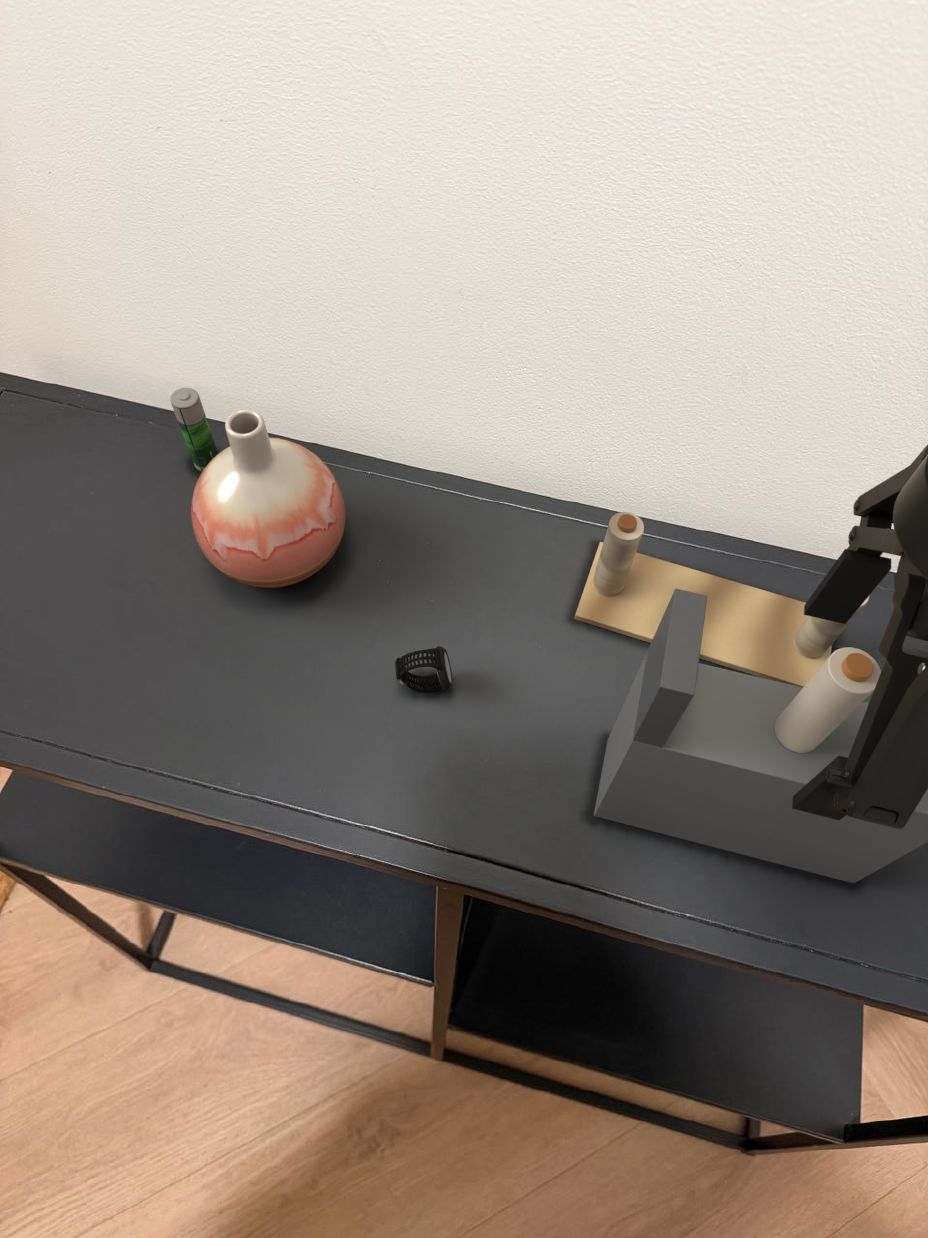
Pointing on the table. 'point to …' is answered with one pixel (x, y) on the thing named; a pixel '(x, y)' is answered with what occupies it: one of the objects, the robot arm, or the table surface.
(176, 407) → the battery
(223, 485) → the vase
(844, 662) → the white cell
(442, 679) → the smartwatch
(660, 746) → the grey stand
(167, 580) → the table surface
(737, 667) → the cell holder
